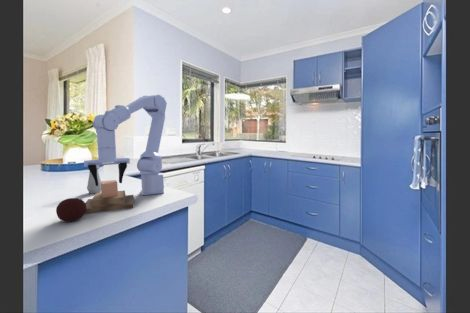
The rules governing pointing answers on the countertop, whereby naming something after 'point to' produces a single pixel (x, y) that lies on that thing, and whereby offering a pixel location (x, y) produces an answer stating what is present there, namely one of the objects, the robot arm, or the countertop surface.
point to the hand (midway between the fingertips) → (109, 184)
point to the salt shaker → (91, 183)
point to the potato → (71, 209)
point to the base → (110, 208)
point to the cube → (109, 188)
